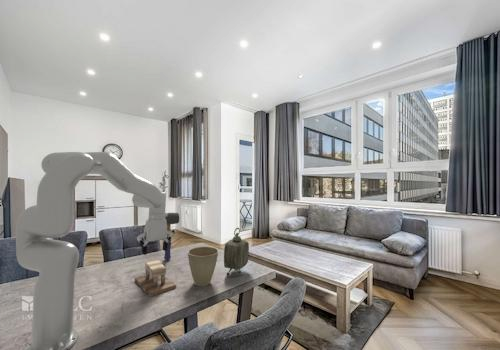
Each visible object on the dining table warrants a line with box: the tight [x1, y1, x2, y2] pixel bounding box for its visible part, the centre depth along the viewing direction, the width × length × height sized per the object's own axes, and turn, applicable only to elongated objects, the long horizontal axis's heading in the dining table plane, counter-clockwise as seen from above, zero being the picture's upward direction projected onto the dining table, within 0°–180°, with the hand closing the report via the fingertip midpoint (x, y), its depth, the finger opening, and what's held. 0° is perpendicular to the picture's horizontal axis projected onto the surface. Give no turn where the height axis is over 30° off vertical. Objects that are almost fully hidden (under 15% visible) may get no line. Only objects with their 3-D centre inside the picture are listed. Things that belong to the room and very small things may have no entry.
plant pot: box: [187, 246, 219, 287], centre depth 114 cm, size 15×15×16 cm
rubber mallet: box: [163, 212, 180, 262], centre depth 145 cm, size 12×8×30 cm, turn 119°
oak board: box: [144, 259, 167, 277], centre depth 111 cm, size 14×6×3 cm, turn 37°
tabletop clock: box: [223, 227, 250, 276], centre depth 127 cm, size 14×9×25 cm, turn 159°
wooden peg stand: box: [134, 268, 177, 297], centre depth 111 cm, size 20×12×6 cm, turn 44°
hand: (154, 252), depth 111 cm, fingers open, 9 cm apart
